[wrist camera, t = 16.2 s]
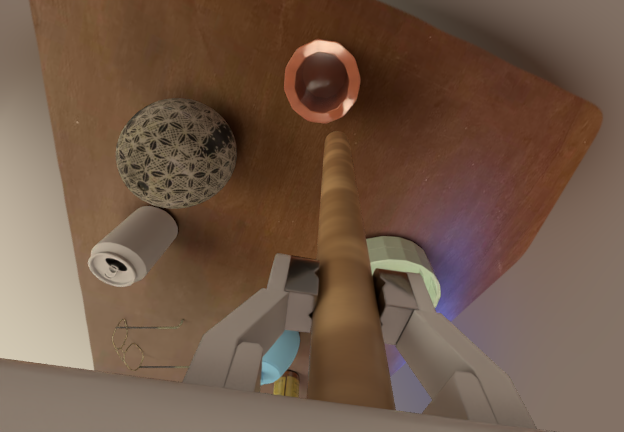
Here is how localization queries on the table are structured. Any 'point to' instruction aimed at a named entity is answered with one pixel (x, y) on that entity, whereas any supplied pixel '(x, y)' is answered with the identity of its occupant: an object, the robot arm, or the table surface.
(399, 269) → the bowl
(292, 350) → the sugar bowl
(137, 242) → the can
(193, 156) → the decorative egg
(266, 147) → the table surface
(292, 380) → the sauce bottle
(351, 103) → the utensil pot
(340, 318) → the stirring stick
